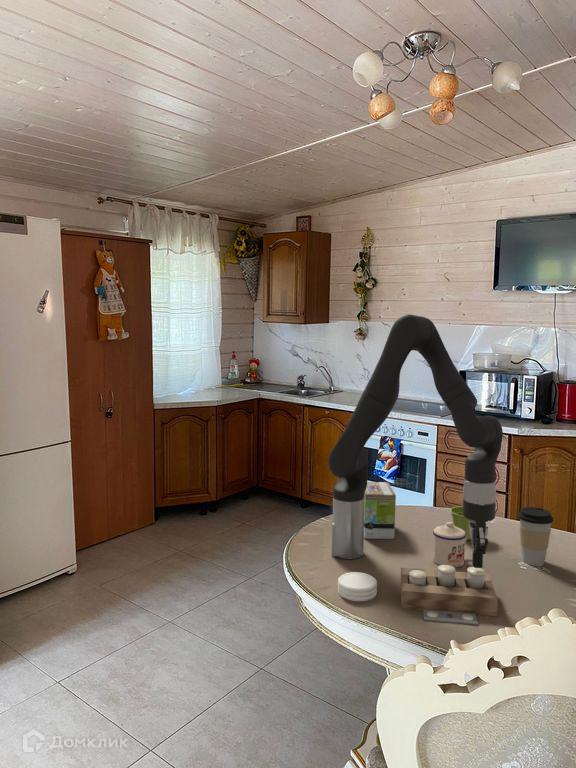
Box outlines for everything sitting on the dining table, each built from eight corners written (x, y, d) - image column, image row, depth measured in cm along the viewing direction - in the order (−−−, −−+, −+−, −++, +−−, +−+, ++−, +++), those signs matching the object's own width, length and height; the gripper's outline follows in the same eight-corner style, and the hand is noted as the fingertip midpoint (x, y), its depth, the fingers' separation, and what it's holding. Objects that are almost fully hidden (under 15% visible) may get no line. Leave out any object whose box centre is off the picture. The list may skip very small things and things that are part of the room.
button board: (401, 608, 136) (401, 590, 136) (400, 583, 149) (400, 567, 148) (497, 616, 132) (497, 598, 132) (487, 590, 145) (488, 573, 145)
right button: (468, 589, 137) (468, 573, 137) (465, 581, 141) (466, 566, 141) (486, 590, 136) (486, 575, 136) (483, 582, 141) (483, 567, 140)
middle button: (438, 587, 138) (438, 571, 138) (436, 579, 143) (437, 564, 142) (456, 588, 138) (456, 572, 137) (454, 580, 142) (454, 565, 141)
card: (424, 620, 131) (424, 617, 131) (422, 610, 135) (422, 608, 135) (478, 625, 129) (478, 622, 128) (475, 615, 133) (475, 612, 133)
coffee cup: (551, 558, 165) (553, 508, 163) (551, 571, 156) (554, 519, 154) (516, 552, 169) (518, 504, 167) (514, 565, 160) (516, 514, 158)
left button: (409, 592, 140) (409, 576, 139) (408, 584, 144) (408, 569, 144) (426, 593, 139) (426, 578, 139) (425, 585, 143) (425, 570, 143)
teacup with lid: (451, 571, 156) (452, 530, 155) (425, 560, 164) (426, 521, 162) (477, 560, 163) (479, 521, 162) (452, 550, 170) (453, 513, 169)
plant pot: (483, 535, 182) (484, 509, 181) (475, 545, 174) (476, 518, 174) (454, 529, 187) (454, 504, 186) (445, 539, 179) (446, 512, 178)
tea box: (395, 539, 179) (396, 494, 178) (363, 539, 179) (364, 494, 178) (387, 522, 194) (388, 480, 193) (358, 522, 194) (359, 480, 193)
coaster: (376, 604, 139) (376, 590, 138) (336, 600, 140) (336, 587, 140) (377, 585, 148) (377, 572, 148) (339, 582, 150) (339, 569, 150)
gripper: (459, 489, 144) (458, 555, 145) (466, 506, 131) (465, 577, 133) (490, 490, 142) (488, 556, 144) (500, 507, 129) (498, 579, 131)
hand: (477, 566), depth 138 cm, fingers closed
